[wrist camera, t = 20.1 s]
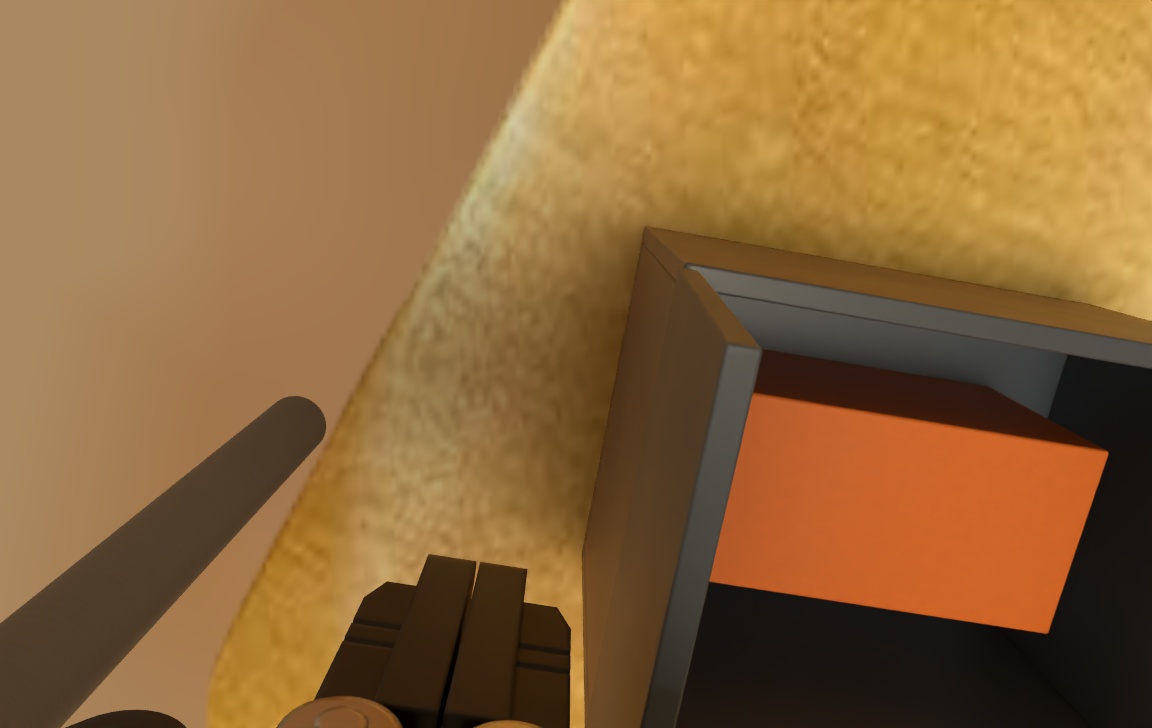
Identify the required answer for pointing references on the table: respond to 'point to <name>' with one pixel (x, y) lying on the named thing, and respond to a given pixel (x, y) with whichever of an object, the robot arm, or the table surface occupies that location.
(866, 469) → the block
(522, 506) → the table surface
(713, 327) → the box flap
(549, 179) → the table surface
